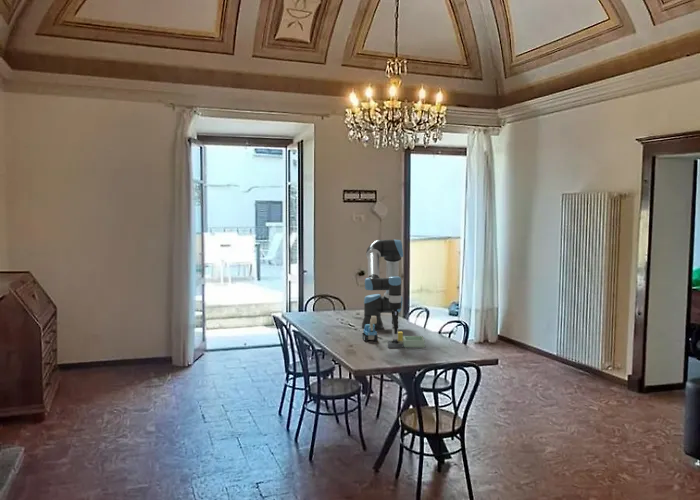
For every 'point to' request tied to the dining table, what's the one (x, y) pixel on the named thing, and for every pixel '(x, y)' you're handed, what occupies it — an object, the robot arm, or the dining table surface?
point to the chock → (400, 336)
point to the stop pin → (394, 339)
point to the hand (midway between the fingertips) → (395, 336)
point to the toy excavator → (370, 330)
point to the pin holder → (395, 344)
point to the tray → (413, 342)
